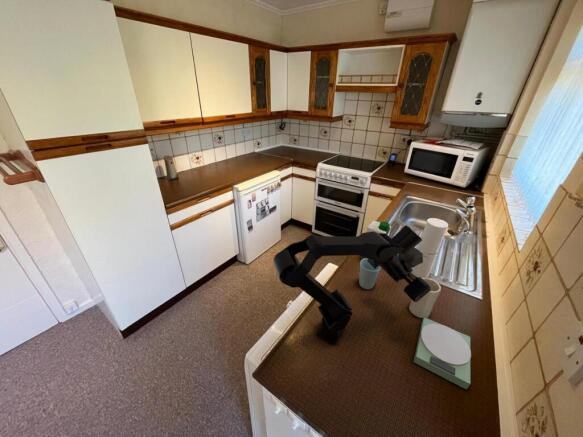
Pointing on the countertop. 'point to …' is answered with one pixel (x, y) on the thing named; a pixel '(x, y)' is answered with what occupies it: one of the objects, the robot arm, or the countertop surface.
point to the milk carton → (378, 228)
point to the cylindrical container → (430, 245)
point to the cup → (367, 274)
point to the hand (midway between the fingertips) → (409, 283)
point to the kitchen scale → (444, 352)
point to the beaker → (426, 300)
